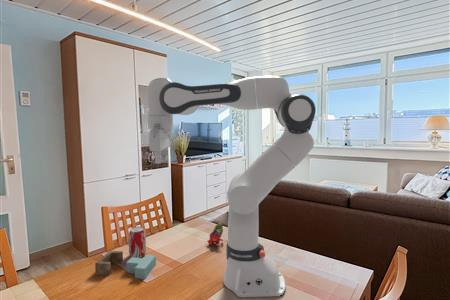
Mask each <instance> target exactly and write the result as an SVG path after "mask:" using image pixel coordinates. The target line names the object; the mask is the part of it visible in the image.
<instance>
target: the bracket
mask: <svg viewBox="0 0 450 300" xmlns="http://www.w3.org/2000/svg"><path fill="white" fill-rule="evenodd" d="M123 253H124V251H120V250H119V251H118V250H109V251H108V252H106V254H104V255H103V256H102V257H101V258H99V259H98V260H97V261H96V262H95V263H94V264H95V265H94V266H95V268H94V269H95V275H98V276H99V275H101V276H110V275H111V274H112V264H122V263H123V262H124V254H123Z"/></svg>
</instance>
